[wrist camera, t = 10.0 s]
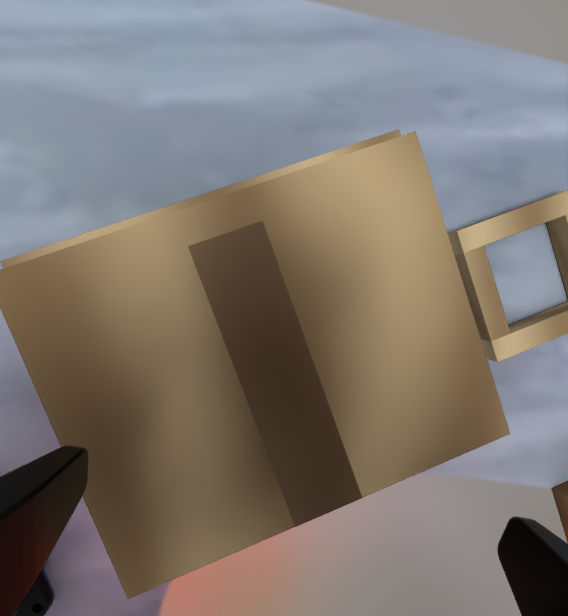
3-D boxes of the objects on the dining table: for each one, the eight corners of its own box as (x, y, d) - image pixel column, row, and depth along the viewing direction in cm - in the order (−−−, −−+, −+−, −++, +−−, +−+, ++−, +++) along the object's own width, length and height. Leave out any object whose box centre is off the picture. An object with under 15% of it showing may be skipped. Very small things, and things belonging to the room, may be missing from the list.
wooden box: (179, 486, 17) (142, 588, 11) (91, 272, 16) (0, 261, 10) (592, 317, 19) (744, 328, 13) (537, 119, 18) (674, 38, 13)
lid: (136, 577, 11) (99, 671, 8) (5, 275, 10) (-84, 270, 8) (493, 424, 12) (564, 462, 10) (404, 142, 12) (453, 94, 9)
